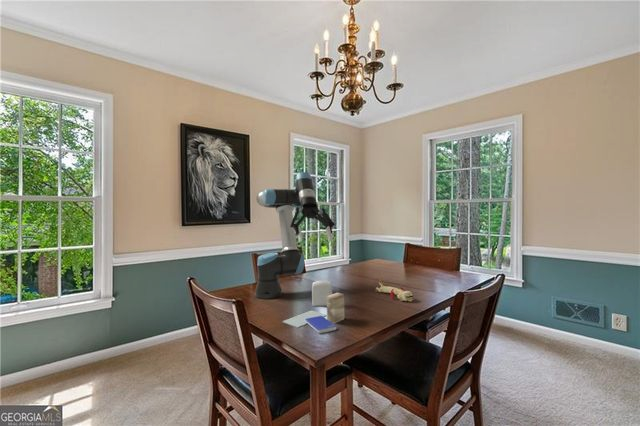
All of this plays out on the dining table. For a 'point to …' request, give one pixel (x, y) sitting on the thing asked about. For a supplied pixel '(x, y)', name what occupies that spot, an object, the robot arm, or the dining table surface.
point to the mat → (302, 318)
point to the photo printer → (321, 292)
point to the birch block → (335, 307)
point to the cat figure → (395, 292)
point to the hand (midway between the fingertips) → (315, 240)
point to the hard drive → (320, 324)
